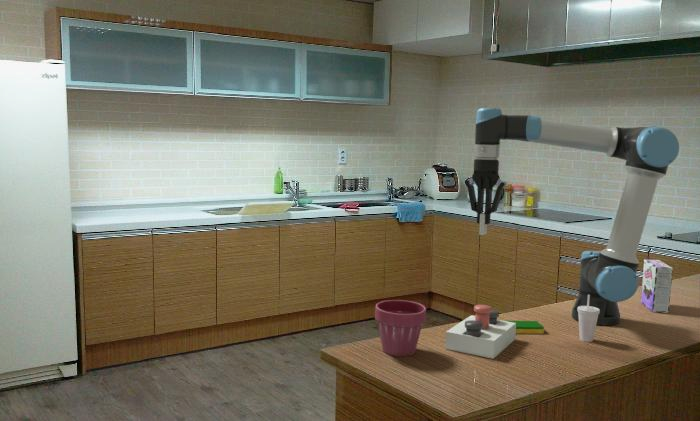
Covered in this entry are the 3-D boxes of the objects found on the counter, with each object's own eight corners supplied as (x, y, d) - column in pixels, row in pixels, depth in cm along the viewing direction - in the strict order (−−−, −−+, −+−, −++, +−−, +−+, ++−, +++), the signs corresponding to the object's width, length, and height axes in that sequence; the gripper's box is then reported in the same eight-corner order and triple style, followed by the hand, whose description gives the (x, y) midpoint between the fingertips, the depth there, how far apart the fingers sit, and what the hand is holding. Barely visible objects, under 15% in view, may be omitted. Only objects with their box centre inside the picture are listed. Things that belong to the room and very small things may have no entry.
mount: (515, 339, 192) (516, 323, 191) (493, 358, 175) (494, 340, 174) (470, 330, 199) (471, 315, 199) (445, 348, 182) (445, 331, 182)
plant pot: (432, 357, 175) (434, 311, 173) (383, 361, 171) (385, 314, 169) (412, 340, 188) (414, 298, 187) (367, 344, 184) (368, 300, 183)
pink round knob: (493, 326, 187) (494, 306, 187) (487, 330, 183) (488, 310, 182) (476, 323, 190) (477, 303, 189) (470, 327, 186) (471, 307, 185)
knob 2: (500, 330, 194) (501, 311, 193) (494, 334, 189) (495, 315, 189) (484, 327, 196) (485, 308, 196) (478, 331, 192) (479, 312, 191)
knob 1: (484, 343, 182) (485, 322, 181) (478, 347, 178) (479, 326, 177) (467, 339, 184) (468, 319, 184) (461, 344, 180) (462, 323, 179)
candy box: (639, 302, 239) (643, 258, 237) (656, 303, 238) (660, 259, 236) (651, 312, 225) (655, 266, 223) (669, 313, 224) (673, 267, 222)
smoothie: (571, 339, 193) (574, 294, 191) (580, 335, 198) (583, 290, 196) (592, 344, 189) (595, 298, 187) (601, 340, 193) (604, 294, 192)
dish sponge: (544, 334, 198) (544, 327, 198) (499, 334, 198) (499, 326, 198) (536, 328, 206) (536, 320, 205) (493, 327, 205) (493, 320, 205)
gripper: (462, 158, 199) (458, 233, 202) (503, 159, 192) (499, 238, 195) (470, 157, 205) (467, 230, 208) (511, 159, 199) (507, 234, 201)
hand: (482, 234), depth 202 cm, fingers closed
